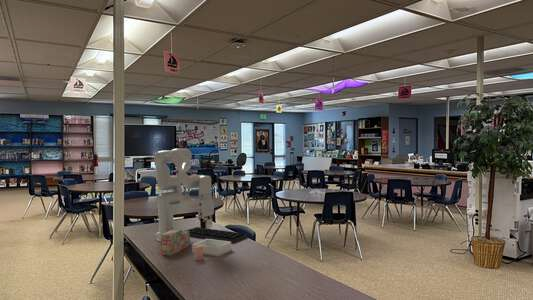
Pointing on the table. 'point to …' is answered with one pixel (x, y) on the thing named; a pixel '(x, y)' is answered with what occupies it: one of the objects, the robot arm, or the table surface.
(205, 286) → the table surface
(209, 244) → the tote
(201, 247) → the smooth tan pebble
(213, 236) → the computer keyboard
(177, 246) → the stack of blocks
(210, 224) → the cube
